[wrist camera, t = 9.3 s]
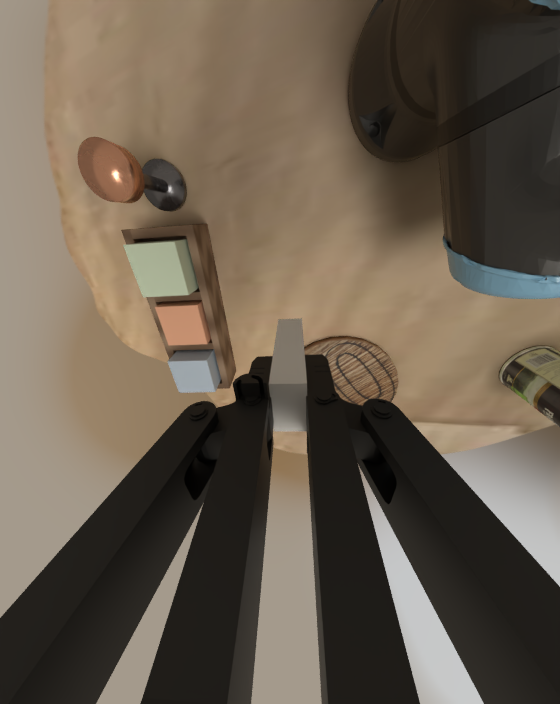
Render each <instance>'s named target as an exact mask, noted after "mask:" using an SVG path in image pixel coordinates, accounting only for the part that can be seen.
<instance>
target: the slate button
mask: <svg viewBox="0 0 560 704" xmlns="http://www.w3.org/2000/svg"><path fill="white" fill-rule="evenodd" d="M168 364H169V367H170V369H171V372H172V375H173V377H174V380H175V383H176V385H177V388H178V391H179V392H216V389H217V387H218V385H219V383H220V380H221V376H220V372H219V367H218V363H217V359H216V355H215V351H214V349H203V350H177V351H176V352H175V354H174V355H173V356H172V357H171V358H170V359H169V360H168Z"/></svg>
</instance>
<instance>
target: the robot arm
mask: <svg viewBox="0 0 560 704" xmlns="http://www.w3.org/2000/svg"><path fill="white" fill-rule="evenodd" d="M348 97H349V110H350V116H351V120H352V124H353V127H354V130H355V132H356V134H357V136H358V138H359V140H360V141H361V143H362V144H363V146H364V147H365V148H366V149H367V150H368V151H369V152H370V153H371V154H373V155H374V156H376V157H378V158H380V159H382V160H385V161H389V162H405V161H410V160H413V159H416V158H418V157H420V156H422V155H424V154H426V153H428V152H430V151H432V150H434V149H436V148H437V147H439V148H438V153H439V165H440V180H441V194H442V208H443V223H444V236H443V245H444V247H445V249H446V250H447V256H448V263H449V270H450V272H451V275H452V276H453V278H454V279H455V280H457V281H458V282H460V283H461V284H462V285H463V286H464V287H466V288H468V289H470V290H473V291H476V292H479V293H482V294H486V295H491V296H497V297H505V298H516V299H547V298H559V297H560V0H377V2H376V3H375V5H374V7H373V9H372V11H371V13H370V15H369V17H368V19H367V21H366V23H365V26H364V28H363V31H362V34H361V36H360V39H359V42H358V44H357V47H356V50H355V54H354V57H353V61H352V66H351V71H350V78H349V91H348ZM233 387H234V392H235V396H236V402H234V403H232V404H229V405H226V406H222V407H218V408H216V407H215V405H214V404H213V403H211V402H208V401H201V402H197V403H195V404H192V405H190V406H189V407H188V408H186V409H185V410H184V411H183V413H181V415H180V416H179V417H178V418H177V419H176V420H175V421H174V423H173V424H172V425H171V426H170V427H169V428H168V429H167V430H166V432H165V433H164V434H163V435H162V436H161V437H160V438H159V439H158V441H157V442H156V443H155V444H154V445H153V446H152V447H151V449H150V450H149V451H148V452H147V453H146V454H145V455H144V456H143V458H142V459H141V460H140V461H139V462H138V463H137V464H136V465H135V467H134V468H133V469H132V470H131V471H130V472H129V473H128V474H127V476H126V477H125V478H124V479H123V480H122V481H121V482H120V484H119V485H118V486H117V487H116V488H115V489H114V490H113V491H112V492H111V494H110V495H109V496H108V497H107V498H106V499H105V500H104V502H103V503H102V504H101V505H100V506H99V507H98V508H97V510H96V511H95V512H94V513H93V514H92V515H91V516H90V517H89V518H88V520H87V521H86V522H85V523H84V524H83V525H82V526H81V528H80V529H79V530H78V531H77V532H76V533H75V534H74V535H73V537H72V538H71V539H70V540H69V541H68V542H67V543H66V544H65V546H64V547H63V548H62V549H61V550H60V551H59V553H57V555H56V556H55V557H54V558H53V559H52V560H51V562H50V563H49V564H48V565H47V566H46V567H45V568H44V570H42V572H41V573H40V574H39V575H38V576H37V577H36V578H35V580H34V581H33V582H32V583H31V584H30V585H29V586H28V587H27V589H26V590H25V591H24V592H23V593H22V594H21V595H20V596H19V598H18V599H17V600H16V601H15V602H14V603H13V604H12V605H11V607H10V608H9V609H8V610H7V611H6V612H5V613H4V615H3V616H2V617H1V618H0V704H96V702H97V700H98V699H99V697H100V695H101V693H102V691H103V689H104V687H105V686H106V684H107V682H108V680H109V678H110V676H111V674H112V673H113V671H114V669H115V667H116V665H117V663H118V661H119V659H120V658H121V656H122V654H123V652H124V650H125V648H126V646H127V645H128V643H129V641H130V639H131V637H132V635H133V633H134V631H135V630H136V628H137V626H138V624H139V622H140V620H141V618H142V616H143V615H144V613H145V611H146V609H147V607H148V605H149V603H150V602H151V600H152V598H153V596H154V594H155V592H156V590H157V588H158V587H159V585H160V583H161V581H162V579H163V577H164V575H165V574H166V572H167V570H168V568H169V566H170V564H171V562H172V560H173V559H174V557H175V555H176V553H177V551H178V549H179V547H180V546H181V544H182V542H183V540H184V538H185V536H186V534H187V532H188V530H189V529H190V527H191V525H192V523H193V521H194V519H195V517H196V515H197V514H198V512H199V510H200V508H201V506H202V504H203V503H204V504H203V507H202V510H201V513H200V516H199V520H198V523H197V526H196V529H195V532H194V536H193V539H192V542H191V545H190V549H189V552H188V555H187V558H186V561H185V564H184V567H183V571H182V574H181V577H180V580H179V583H178V586H177V590H176V593H175V596H174V599H173V602H172V606H171V609H170V612H169V615H168V618H167V621H166V625H165V628H164V631H163V635H162V638H161V641H160V644H159V647H158V650H157V654H156V657H155V660H154V663H153V666H152V669H151V673H150V676H149V679H148V682H147V686H146V688H145V692H144V695H143V698H142V701H141V704H251V697H252V685H253V674H254V662H255V650H256V639H257V627H258V616H259V603H260V593H261V580H262V570H263V557H264V545H265V535H266V523H267V512H268V500H269V489H270V476H271V466H272V454H273V453H272V452H273V427H274V431H307V453H308V468H309V485H310V502H311V503H310V504H311V522H312V538H313V539H312V540H313V557H314V575H315V592H316V610H317V627H318V645H319V662H320V680H321V697H322V704H420V702H419V698H418V694H417V690H416V687H415V683H414V679H413V675H412V671H411V668H410V663H409V660H408V656H407V652H406V648H405V644H404V640H403V636H402V633H401V629H400V625H399V621H398V617H397V613H396V610H395V606H394V602H393V598H392V594H391V590H390V586H389V582H388V579H387V575H386V571H385V567H384V563H383V559H382V556H381V552H380V548H379V544H378V540H377V536H376V532H375V529H374V525H373V521H372V517H371V513H370V509H369V505H368V501H367V498H366V494H365V490H364V486H363V482H362V479H361V474H360V470H359V467H358V464H359V466H360V468H361V470H362V472H363V474H364V476H365V478H366V480H367V481H368V483H369V485H370V487H371V489H372V491H373V493H374V495H375V497H376V499H377V501H378V502H379V504H380V506H381V508H382V510H383V512H384V514H385V516H386V518H387V520H388V521H389V523H390V525H391V527H392V529H393V531H394V533H395V535H396V537H397V539H398V540H399V542H400V544H401V546H402V548H403V550H404V552H405V554H406V556H407V558H408V560H409V562H410V563H411V565H412V567H413V569H414V571H415V573H416V575H417V577H418V579H419V580H420V582H421V584H422V586H423V588H424V590H425V592H426V594H427V596H428V598H429V600H430V602H431V603H432V605H433V607H434V609H435V611H436V613H437V615H438V617H439V619H440V621H441V622H442V624H443V626H444V628H445V630H446V632H447V634H448V636H449V638H450V640H451V641H452V643H453V645H454V647H455V649H456V651H457V653H458V655H459V656H460V658H461V660H462V662H463V664H464V666H465V668H466V670H467V672H468V674H469V676H470V678H471V680H472V682H473V683H474V685H475V687H476V689H477V691H478V693H479V695H480V697H481V699H482V701H483V702H484V704H560V587H559V585H558V584H557V583H556V582H555V581H554V580H553V579H552V578H551V577H550V575H548V573H547V572H546V571H545V570H544V569H543V568H542V567H541V566H540V564H539V563H538V562H537V561H536V560H535V559H534V558H533V557H532V555H531V554H530V553H529V552H528V551H527V550H526V549H525V548H524V547H523V546H522V545H521V543H520V542H519V541H518V540H517V539H516V538H515V537H514V536H513V535H512V533H511V532H510V531H509V530H508V529H507V528H506V527H505V526H504V524H503V523H502V522H501V521H500V520H499V519H498V518H497V517H496V516H495V514H494V513H493V512H492V511H491V510H490V509H489V508H488V507H487V506H486V505H485V503H483V501H482V500H481V499H480V498H479V497H478V496H477V495H476V494H475V492H474V491H473V490H472V489H471V488H470V487H469V486H468V485H467V483H466V482H465V481H464V480H463V479H462V478H461V477H460V476H459V475H458V474H457V472H456V471H455V470H454V469H453V468H452V467H451V466H450V465H449V463H448V462H447V461H446V460H445V459H444V458H443V457H442V456H441V455H440V454H439V452H438V451H437V450H436V449H435V448H434V447H433V446H432V445H431V444H430V442H429V441H428V440H427V439H426V438H425V437H424V436H423V435H422V434H421V432H420V431H419V430H418V429H417V428H416V427H415V426H414V425H413V424H412V422H411V421H410V420H409V419H408V418H407V417H406V416H405V415H404V414H403V412H402V411H401V410H400V409H399V408H398V407H397V406H395V405H394V404H393V403H391V402H389V401H387V400H383V399H370V400H367V401H366V402H365V403H364V404H363V406H362V405H357V404H353V403H350V402H347V401H345V400H343V399H342V398H340V396H339V394H338V393H337V392H336V391H335V387H334V382H333V378H332V374H331V370H330V367H329V362H328V359H327V358H326V357H325V356H324V355H323V354H316V355H305V352H304V340H303V328H302V318H301V319H278V325H277V332H276V339H275V345H274V352H273V356H265V357H257V358H256V359H255V360H254V361H253V362H252V364H251V368H250V371H249V374H244V375H242V376H240V377H238V378H237V379H235V381H234V382H233Z"/></svg>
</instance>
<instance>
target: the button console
mask: <svg viewBox="0 0 560 704" xmlns="http://www.w3.org/2000/svg"><path fill="white" fill-rule="evenodd" d="M121 231H122V233H123V236H124V239H125V241H126V244H134V243H140V242H153V241H168V240H182V239H187V241H188V245H189V250H190V254H191V258H192V262H193V266H194V270H195V274H196V278H197V282H198V286H199V288H198V289H196V290H195V291H194V292H192V293H191V294H190V295H180V296H160V297H146V298H147V301H148V303H149V306H150V309H151V311H152V314H153V317H154V319H155V322H156V325H157V327H158V330H159V333H160V335H161V338H162V341H163V343H164V346H165V349H166V351H167V354H168V357H169V359H170V358H171V357H172V356H173V355H174V354H175V352H176V351H177V350H203V349H214V351H215V355H216V359H217V363H218V367H219V372H220V376H221V380H220V383H219V385H218V387H217V389H219V388H230V386H231V383H232V381H233V378H234V375H235V372H236V367H235V362H234V357H233V352H232V347H231V342H230V337H229V332H228V327H227V322H226V317H225V312H224V307H223V302H222V297H221V291H220V286H219V281H218V276H217V271H216V266H215V261H214V256H213V251H212V246H211V241H210V236H209V231H208V226H207V224H195V225H181V226H167V227H154V228H140V229H127V230H121ZM185 300H202V302H203V306H204V311H205V315H206V319H207V323H208V327H209V331H210V335H211V340H210V341H209V343H208V344H199V345H168V342H167V340H166V337H165V334H164V331H163V329H162V326H161V323H160V320H159V317H158V315H157V312H156V309H155V307H156V306H157V305H159V304H161V303H162V302H164V301H185Z"/></svg>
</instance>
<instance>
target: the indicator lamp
mask: <svg viewBox="0 0 560 704" xmlns="http://www.w3.org/2000/svg"><path fill="white" fill-rule="evenodd" d="M78 165H79V169H80V172H81V174H82V176H83V178H84V180H85V182H86V183H87V185H88V186H89V187H90V189H91V190H92V191H93V192H94V193H95V194H97V195H98V196H99V197H101V198H103V199H105V200H107V201H111V202H121V203H133V202H136V201H138V200H139V199H140V198H141V196H142V194H143V192H144V193H145V195H146V197H147V198H148V200H149V201H150V202H151V203H152V204H153V205H154V206H155V207H157V208H159V209H161V210H164V211H176V210H178V209H180V208H181V207H182V206H183V204H184V202H185V200H186V195H187V190H186V184H185V181H184V178H183V176H182V175H181V173H180V172H179V170H178V169H177V168H176V167H175V166H174V165H172V164H171V163H169V162H167V161H165V160H162V159H152V160H150V161H148V162H147V163H146V164H145V165H144V167H143V170H142V169H141V167H140V165H139V163H138V161H137V160H136V159H135V157H134V156H133V155H132V154H131V153H130V152H129V151H128V150H126V149H125V148H123V147H121V146H119V145H116V144H114V143H112V142H109V141H107V140H105V139H102V138H99V137H90V138H87V139H86V140H84V141H83V142H82V144H81V145H80V147H79V151H78Z"/></svg>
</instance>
